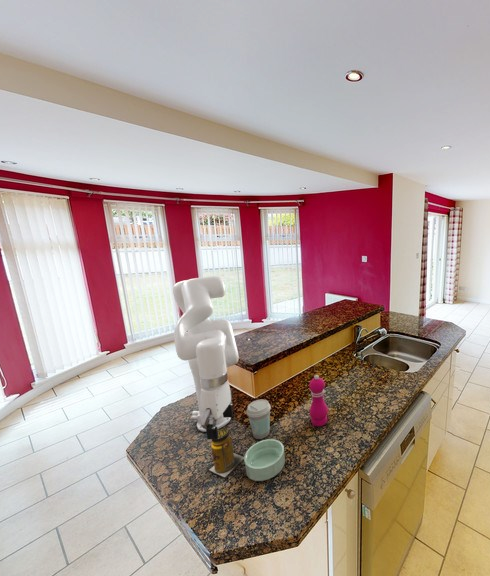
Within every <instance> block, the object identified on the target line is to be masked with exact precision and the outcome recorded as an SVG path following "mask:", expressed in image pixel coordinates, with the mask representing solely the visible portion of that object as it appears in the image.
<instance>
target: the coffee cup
mask: <svg viewBox="0 0 490 576" xmlns="http://www.w3.org/2000/svg"><path fill="white" fill-rule="evenodd" d="M271 407H272V406H271V404H270V403H269V401H268V400H266V399H255V400H254V401H252V402H250V403H249V404H248V405H247V408H246V416H247V417H248V421H249V425H250V429H251V433H252V437H253V438H254V439H255V440H261V439H262V440H263V439H265V438H266V437H268V436H269V434H270V425H271V424H270V423H271V422H270V421H271V420H270V419H271V409H272V408H271Z"/></svg>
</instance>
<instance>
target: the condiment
mask: <svg viewBox="0 0 490 576" xmlns="http://www.w3.org/2000/svg"><path fill="white" fill-rule="evenodd" d="M217 430H218V439H210V440H211V445H210V449H211V455H212V461H213V466H211V468H209V469H208V471H210V472H212V473H213V474H216V475H218V476H221V477H223V478H226V477H227V476H229V474H231V472H233V470H234V469H236V467H238V465H239V464H240V463H242V462H243V461H244V457H245V456H242V455H240V454H237V453H235V452H234V447H233V446H234V445H233V439H232V437H231V434H230V431H229V429H228V428H220V429H217Z"/></svg>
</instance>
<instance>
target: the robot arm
mask: <svg viewBox="0 0 490 576" xmlns="http://www.w3.org/2000/svg"><path fill="white" fill-rule="evenodd" d="M172 294H173V297H174V300H175V302H176V304H177V306H178V307H179V309H180V311H181V312H182V315H181V316H180V317H179V319H178V320H177V321H176V324H175V326H174V329H173V341H174V346H175V352H176V355H177V357H178V358H179V359H180V360H181V361H188V362H187V363H188V366H189V369H190V370H191V374H192V378H193V383H194V388H195V394H196V401H197V406H198V410H193V411H191V420H197V422H196V428H197V430H199V431H200V432H202V433H203V432H204V433H206V438H207V440H211V439H218V430H220V429H223V427H225V426H227V424H228V423H229V422H230V421H231V419H232V418H233V417H234V409H233V404H234V403H233V401H232V400H233V388H231V387H230V383H229V375H228V368H229V367H233V366H235V365H237V364H238V362H239V359H240V357H239V351H238V347H237V342H236V339H235V333H234V330H233V327H232V326H233V325H232V324H231V321H229V320H228V318H217V319H210V317H211V316H212V315H213V313H214V307H213V303H212V300H211V299H218V298H223V297H224V296H225V295H226V284H225V282H224V280H223V279H222V278H221V277H220V276H218V275H215V276H212V275H211V276H204V277H195V278H189V279H186V280H180V281H178V282H176V283H174V285H173V286H172ZM186 333H187V335H186Z"/></svg>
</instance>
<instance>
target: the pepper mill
mask: <svg viewBox="0 0 490 576" xmlns="http://www.w3.org/2000/svg"><path fill="white" fill-rule="evenodd" d="M325 386H326V383H325V381H324V379H323V378H321V377H320V376H319V375H318V374H315V375H314V377H313V378H312V379H311V380H310V381H309V385H308V387H309V389H310V395H311V396H312V403H311V404H310V407H309V416H310V420H311V421H310V422H311V425H312V426H314V427H322V426H324V425H326V424H327V422H328V414H329V409H328V406H327V405H328V404H327V403H326V402H325V400H324V395H325Z"/></svg>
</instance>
